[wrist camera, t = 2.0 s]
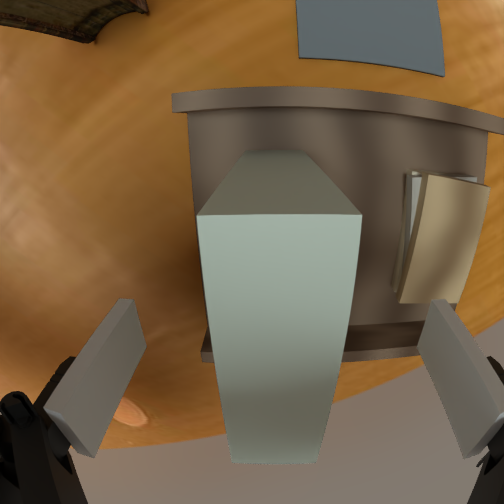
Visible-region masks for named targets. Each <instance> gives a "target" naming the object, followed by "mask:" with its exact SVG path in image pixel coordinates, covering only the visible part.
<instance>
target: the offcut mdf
mask: <svg viewBox="0 0 504 504" xmlns="http://www.w3.org/2000/svg"><path fill="white" fill-rule="evenodd" d="M438 175H443V176H448V177H453V178H458V179H462V180H467V181H471V182H476V183H477V177H475V176H472V175H459V174H438ZM421 178H422V175H407V199H406V223H405V239H404V252H403V263H402V270H403V267H404V263H405V259H406V254H407V250H408V246H409V242H410V237H411V232H412V228H413V223H414V218H415V213H416V207H417V202H418V196H419V190H420V184H421ZM401 274H402V273H401Z"/></svg>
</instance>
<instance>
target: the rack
mask: <svg viewBox="0 0 504 504" xmlns="http://www.w3.org/2000/svg"><path fill="white" fill-rule="evenodd" d="M172 112H173V113H187V116H188V134H189V149H190V164H191V177H192V189H193V201H194V212H195V222H196V232H197V242H198V251H199V260H200V269H201V277H202V286H203V294H204V301H205V309H206V316H207V324H208V327H207V331H206V334H205V338H204V341H203V345H202V348H201V357H202V362H210V363H214V356H213V349H212V342H211V335H210V328H209V321H208V313H207V306H206V298H205V290H204V281H203V273H202V264H201V255H200V246H199V236H198V226H197V214H198V213H199V212H200V210H201V209H202V207H203V206H204V205H205V203H206V202H207V201H208V199H209V198H210V197H211V195H212V194H213V193H214V191H215V190H216V189H217V187H218V186H219V185H220V183H221V182H222V181H223V179H224V178H225V177H226V175H227V174H228V173H229V171H230V170H231V169H232V167H233V166H234V165H235V164H236V162H237V161H238V160H239V158H240V157H241V156H242V155H243V153H244V152H245V151H255V150H303V151H304V152H305V153H306V154H307V155H308V156H309V157H310V158H311V159H312V160H313V161H314V162H315V163H316V164H317V165H318V166H319V167H320V168H321V170H322V171H323V172H324V173H325V174H326V175H327V176H328V177H329V178H330V179H331V180H332V181H333V182H334V184H335V185H336V186H337V187H338V188H339V189H340V190H341V191H342V192H343V193H344V195H345V196H346V197H347V198H348V199H349V200H350V201H351V202H352V204H353V205H354V206H355V207H356V208H357V209H358V210H359V212H360V213H361V214H362V223H361V234H360V244H359V253H358V261H357V269H356V277H355V284H354V291H353V298H352V305H351V311H350V317H349V323H348V329H347V334H346V340H345V345H344V350H343V355H342V360H341V362H354V361H368V360H379V359H390V358H399V357H408V356H416V355H420V353H419V351H418V349H417V345H418V342H419V339H420V336H421V333H422V330H423V327H424V324H425V321H426V317H427V314H428V311H429V307H430V304H431V303H399V302H398V300H397V299H396V297H395V296H396V292H394V290H393V289H392V287H391V284H392V279H393V273H394V268H395V262H396V256H397V250H398V244H399V237H400V230H401V222H402V214H403V205H404V196H405V185H406V173H407V169H413V170H424V171H434V172H443V173H452V174H460V175H472V176H475V177H477V183H480V184H484V176H485V167H486V155H487V140H488V132H491V133H496V134H501V135H504V118H501V117H497V116H494V115H490V114H487V113H483V112H480V111H476V110H472V109H468V108H464V107H460V106H456V105H451V104H447V103H442V102H437V101H432V100H427V99H421V98H415V97H409V96H403V95H396V94H389V93H381V92H373V91H363V90H352V89H339V88H323V87H284V86H280V87H241V88H224V89H211V90H200V91H190V92H181V93H173V94H172ZM449 305H450V306H451V307H452V309H453V310H454V311H455V308H456V305H457V303H449Z"/></svg>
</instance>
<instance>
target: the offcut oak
mask: <svg viewBox="0 0 504 504" xmlns="http://www.w3.org/2000/svg"><path fill="white" fill-rule="evenodd" d="M490 188H491V187H488V186H486V185H484V184H480V183H476V182H471V181H467V180H462V179H458V178H453V177H448V176H443V175H438V174H432V173H427V172H422V178H421V184H420V190H419V196H418V202H417V207H416V213H415V218H414V223H413V228H412V232H411V237H410V242H409V246H408V250H407V254H406V259H405V263H404V267H403V270H402V274H401V278H400V282H399V285H398V289H397V292H396V296H395V297H396V299H397V300H398V302H399V303H431V300H436V299H446V301H447V302H448V303H458V302H459V300H460V297H461V294H462V291H463V289H464V286H465V283H466V280H467V277H468V274H469V271H470V268H471V265H472V261H473V258H474V255H475V251H476V248H477V244H478V241H479V237H480V233H481V229H482V225H483V221H484V217H485V212H486V208H487V203H488V198H489V193H490Z"/></svg>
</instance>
